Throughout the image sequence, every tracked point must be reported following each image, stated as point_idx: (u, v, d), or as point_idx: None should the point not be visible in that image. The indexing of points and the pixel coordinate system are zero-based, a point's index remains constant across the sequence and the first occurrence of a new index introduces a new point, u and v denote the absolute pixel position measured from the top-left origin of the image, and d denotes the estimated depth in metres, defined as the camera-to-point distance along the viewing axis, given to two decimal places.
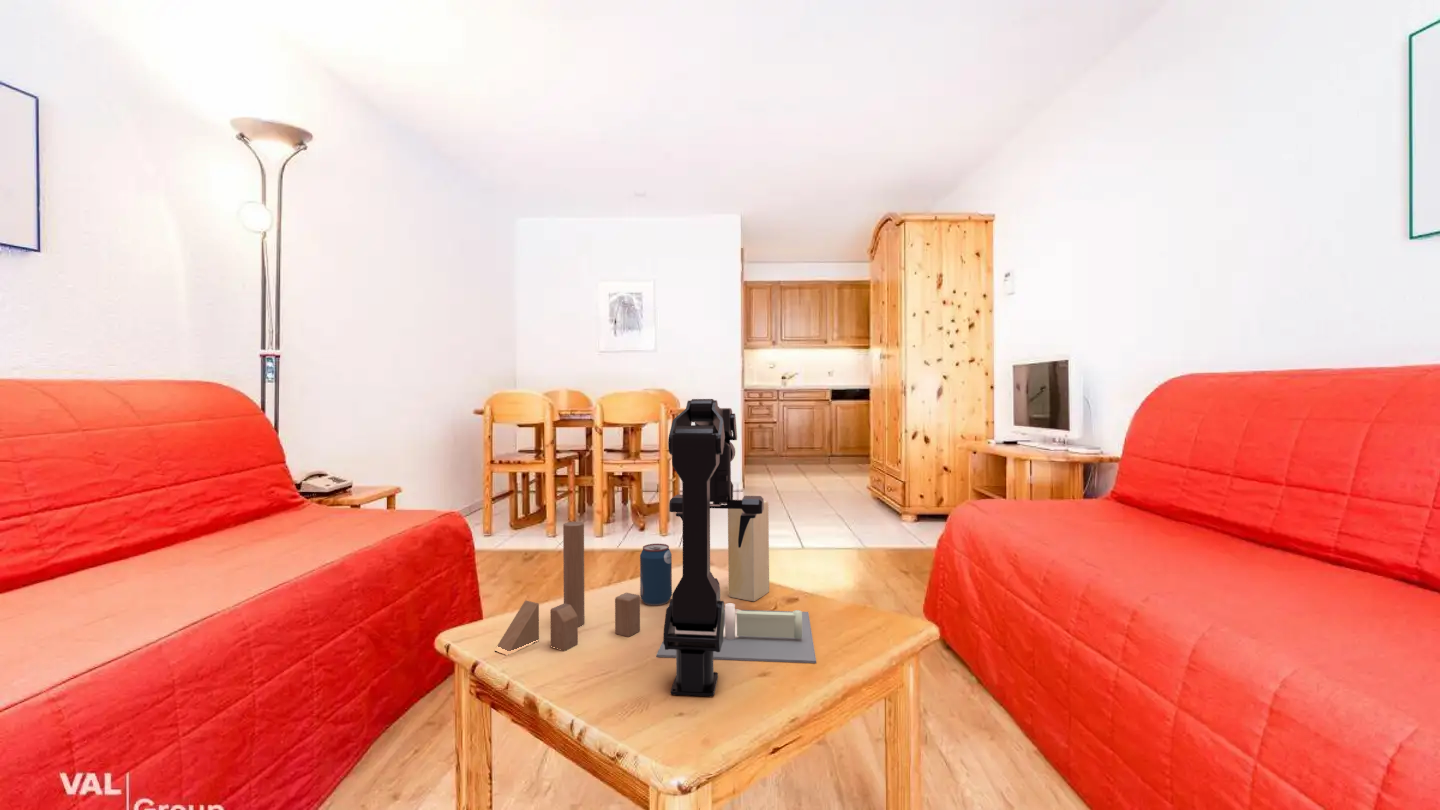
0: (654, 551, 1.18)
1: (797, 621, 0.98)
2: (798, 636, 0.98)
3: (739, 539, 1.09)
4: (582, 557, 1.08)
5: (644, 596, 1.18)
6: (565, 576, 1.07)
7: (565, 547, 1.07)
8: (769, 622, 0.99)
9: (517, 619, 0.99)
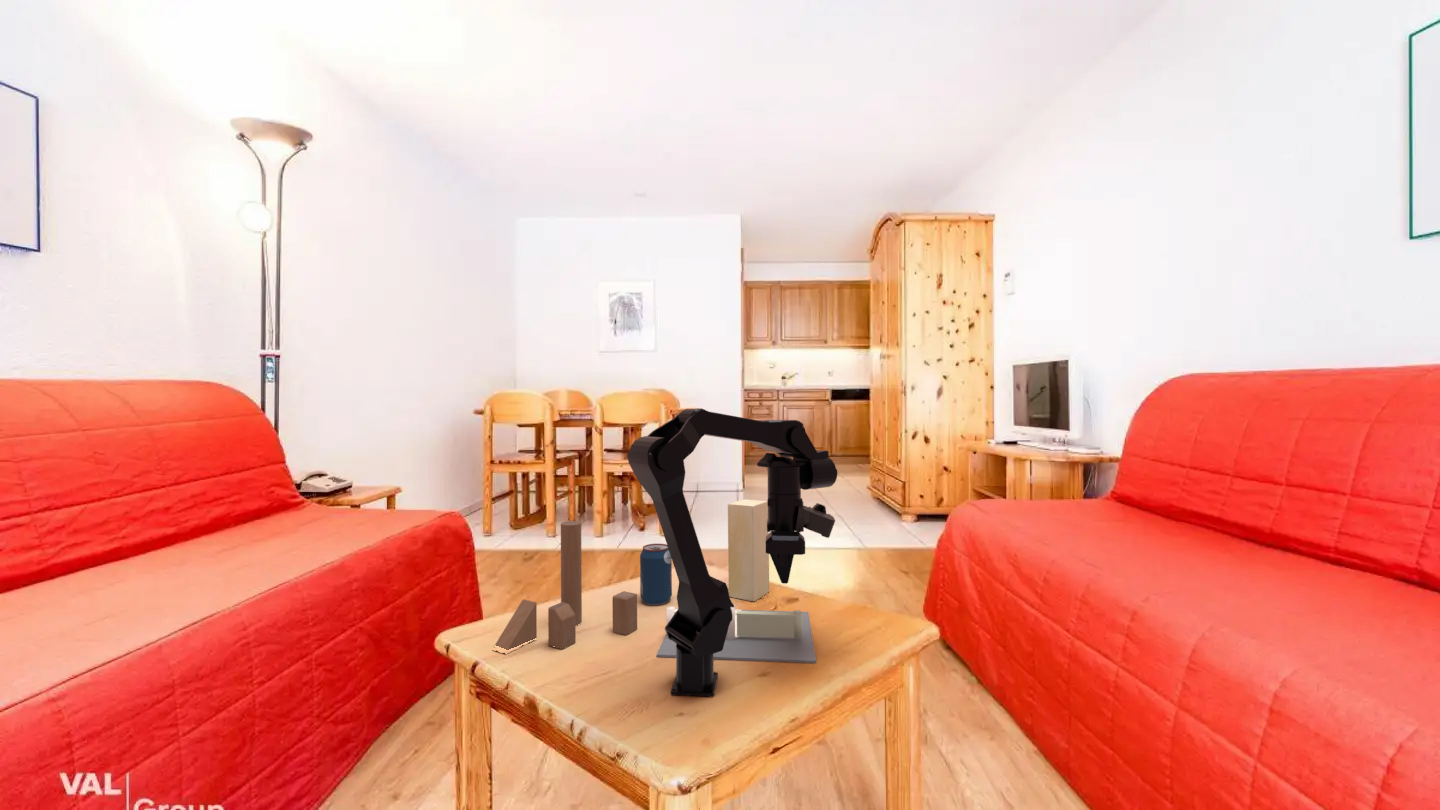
0: (654, 551, 1.18)
1: (797, 621, 0.98)
2: (798, 636, 0.98)
3: (777, 572, 0.94)
4: (579, 556, 1.08)
5: (644, 596, 1.18)
6: (562, 575, 1.07)
7: (562, 546, 1.07)
8: (769, 622, 0.99)
9: (515, 618, 1.00)
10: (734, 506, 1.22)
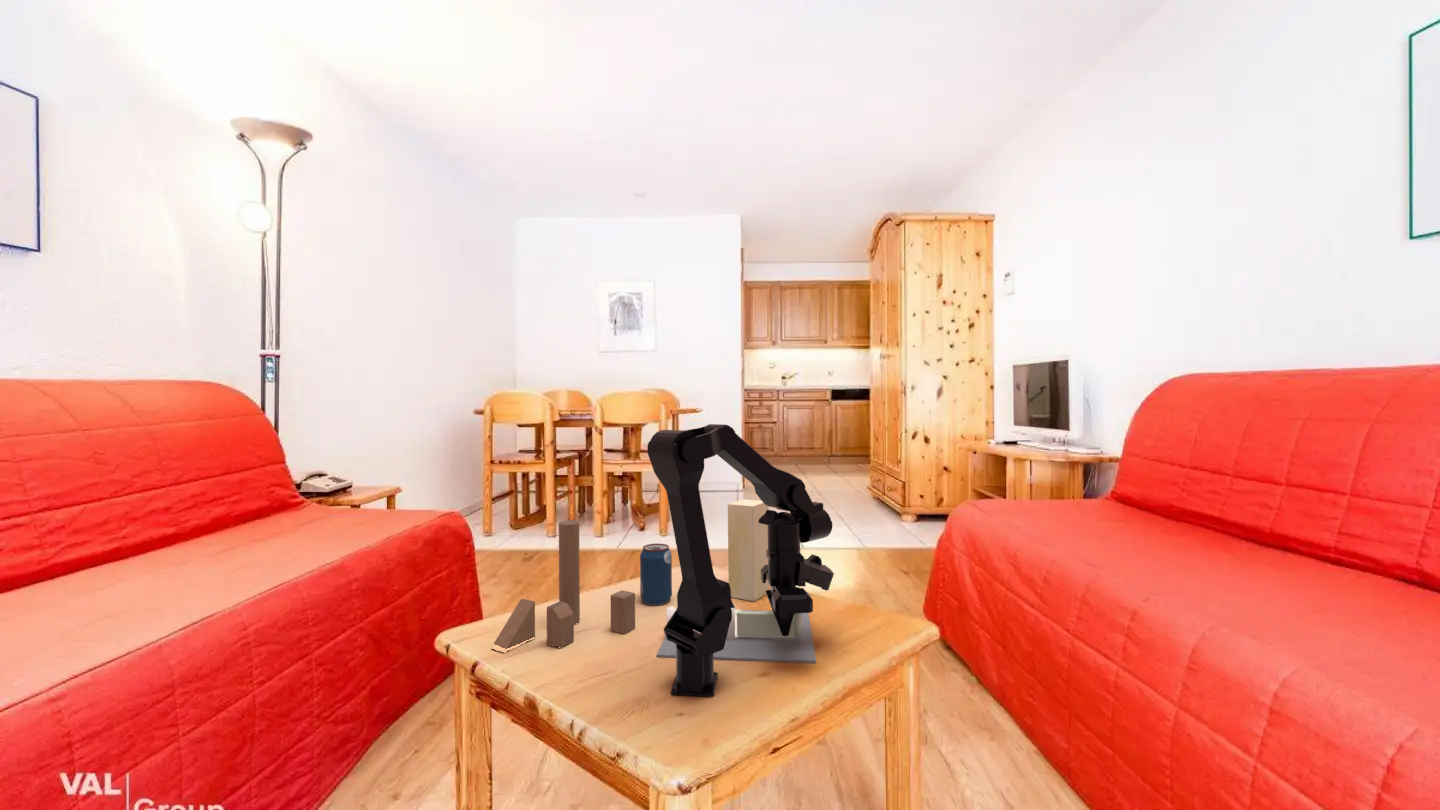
0: (654, 551, 1.18)
1: (797, 621, 0.98)
2: (798, 636, 0.98)
3: (778, 625, 0.97)
4: (577, 555, 1.09)
5: (644, 596, 1.18)
6: (561, 574, 1.08)
7: (561, 546, 1.08)
8: (769, 622, 0.99)
9: (513, 617, 1.00)
10: (734, 506, 1.22)
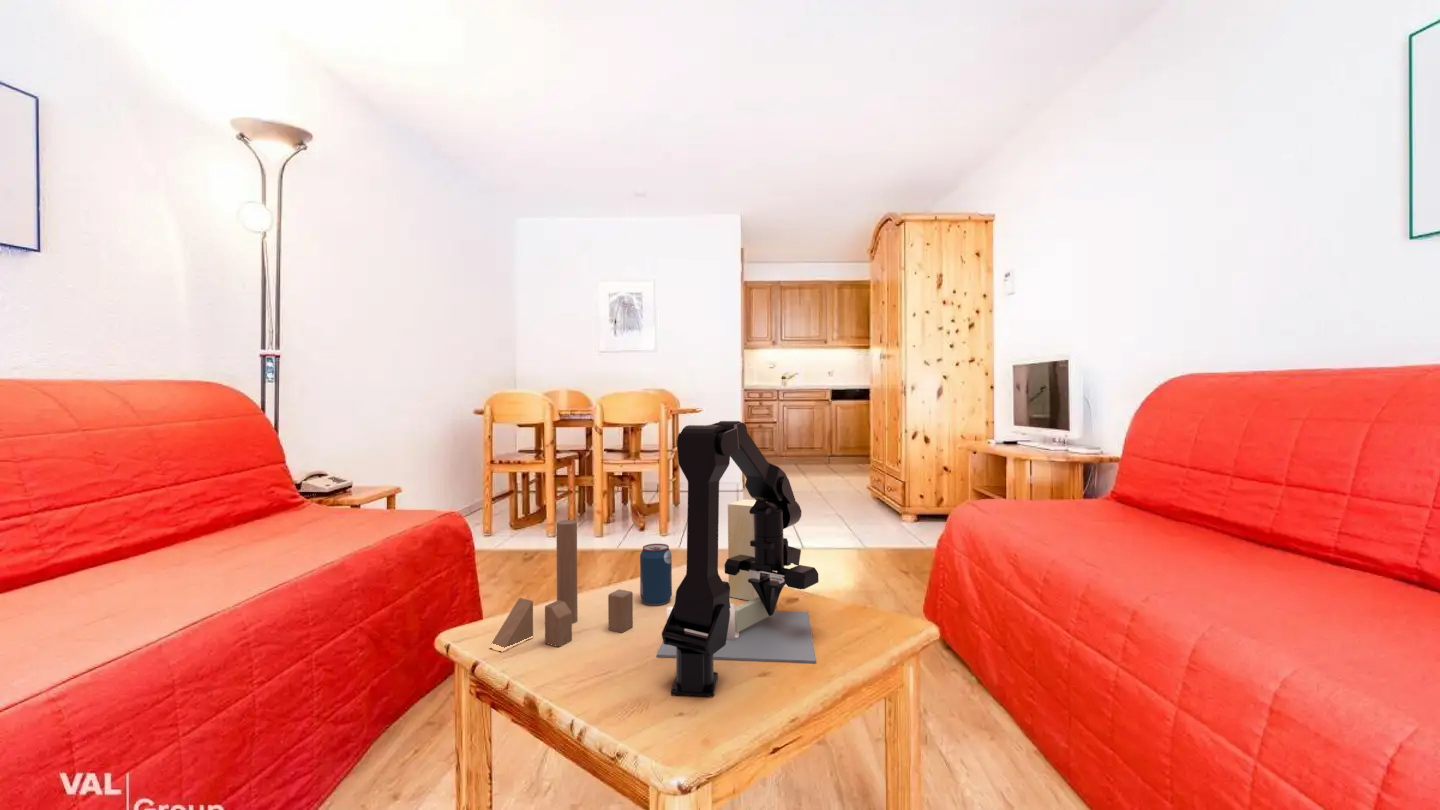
0: (654, 551, 1.18)
1: None
2: None
3: (767, 607, 1.05)
4: (575, 555, 1.09)
5: (644, 596, 1.18)
6: (558, 574, 1.08)
7: (558, 545, 1.08)
8: (755, 609, 1.05)
9: (511, 616, 1.00)
10: (734, 506, 1.22)
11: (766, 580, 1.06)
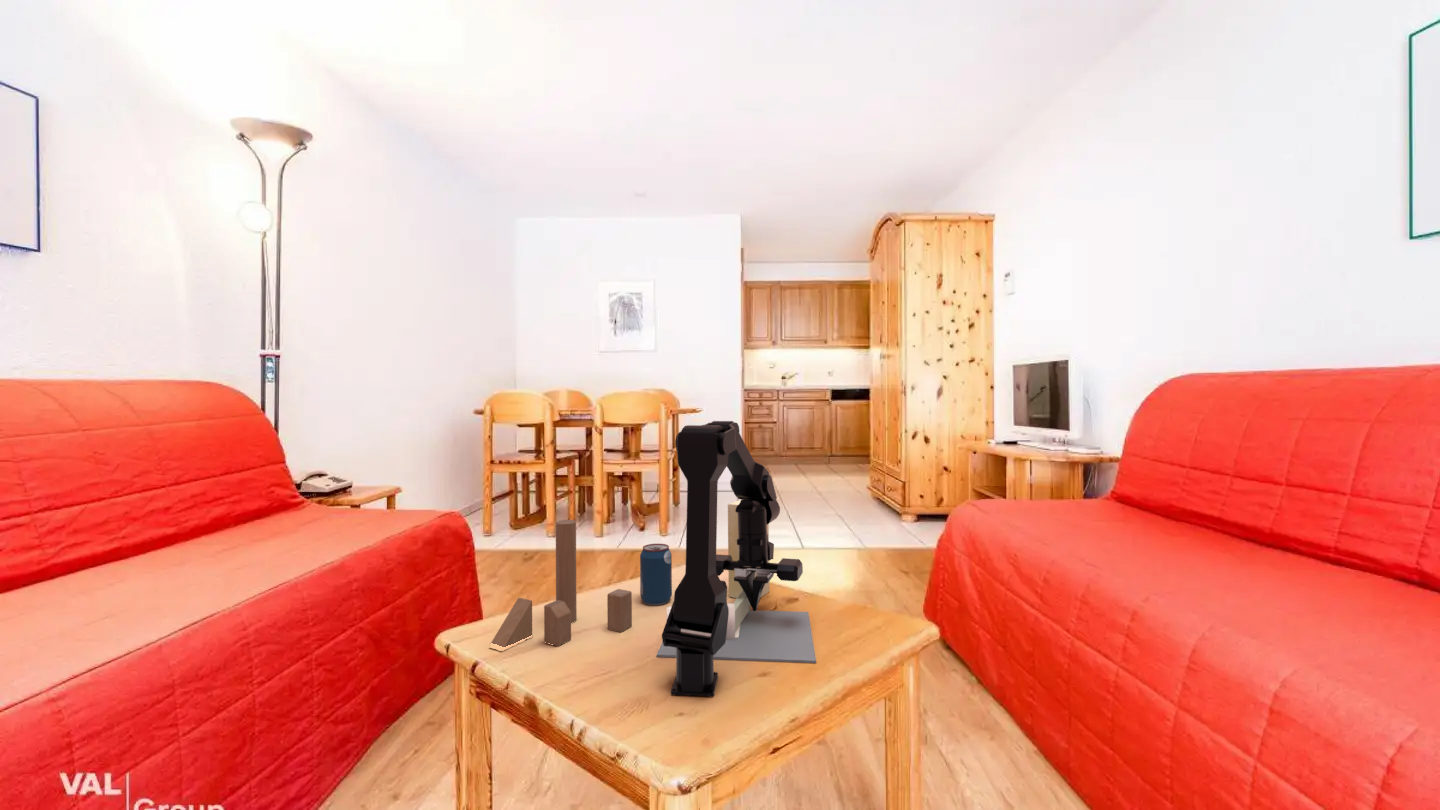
0: (654, 551, 1.18)
1: None
2: (750, 609, 1.12)
3: (753, 603, 1.08)
4: (574, 555, 1.09)
5: (644, 596, 1.18)
6: (557, 573, 1.08)
7: (557, 545, 1.08)
8: (742, 606, 1.07)
9: (511, 616, 1.01)
10: (734, 506, 1.22)
11: (750, 576, 1.09)
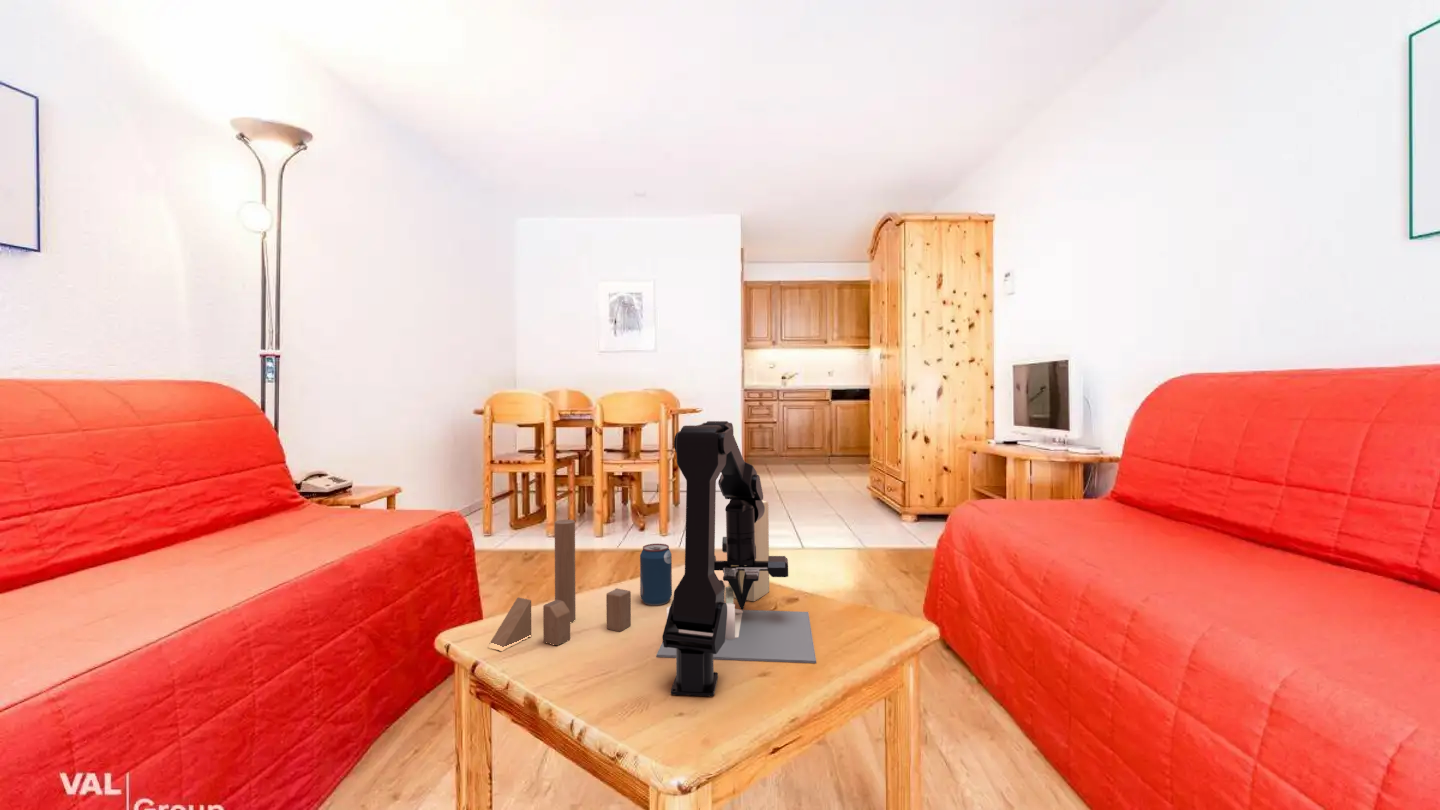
0: (654, 551, 1.18)
1: None
2: None
3: (742, 601, 1.09)
4: (573, 554, 1.10)
5: (644, 596, 1.18)
6: (556, 573, 1.08)
7: (556, 545, 1.08)
8: None
9: (510, 616, 1.01)
10: None
11: (738, 575, 1.10)
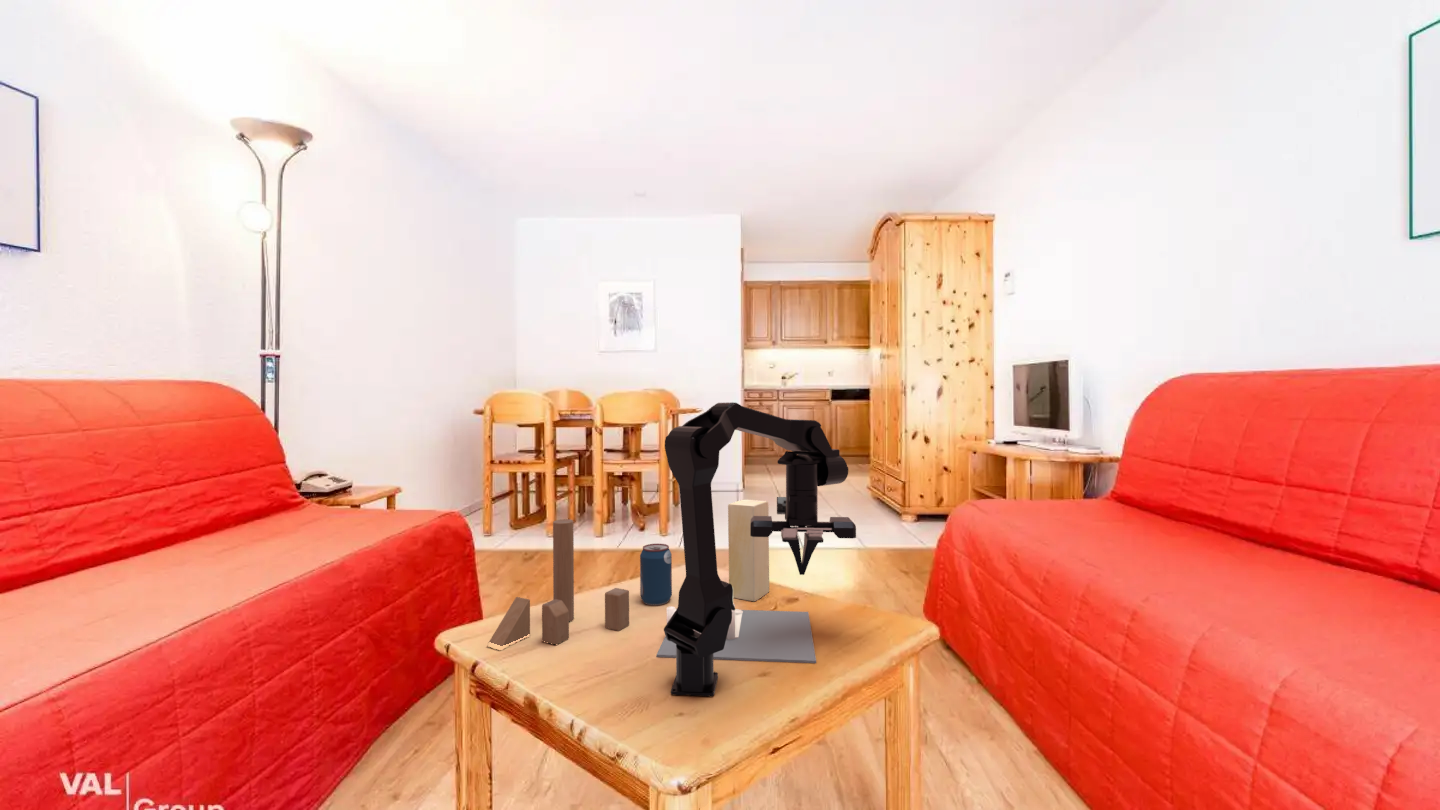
0: (654, 551, 1.18)
1: None
2: None
3: (804, 565, 0.99)
4: (572, 554, 1.10)
5: (644, 596, 1.18)
6: (555, 573, 1.09)
7: (555, 544, 1.09)
8: None
9: (509, 615, 1.01)
10: (734, 506, 1.22)
11: (797, 537, 0.99)
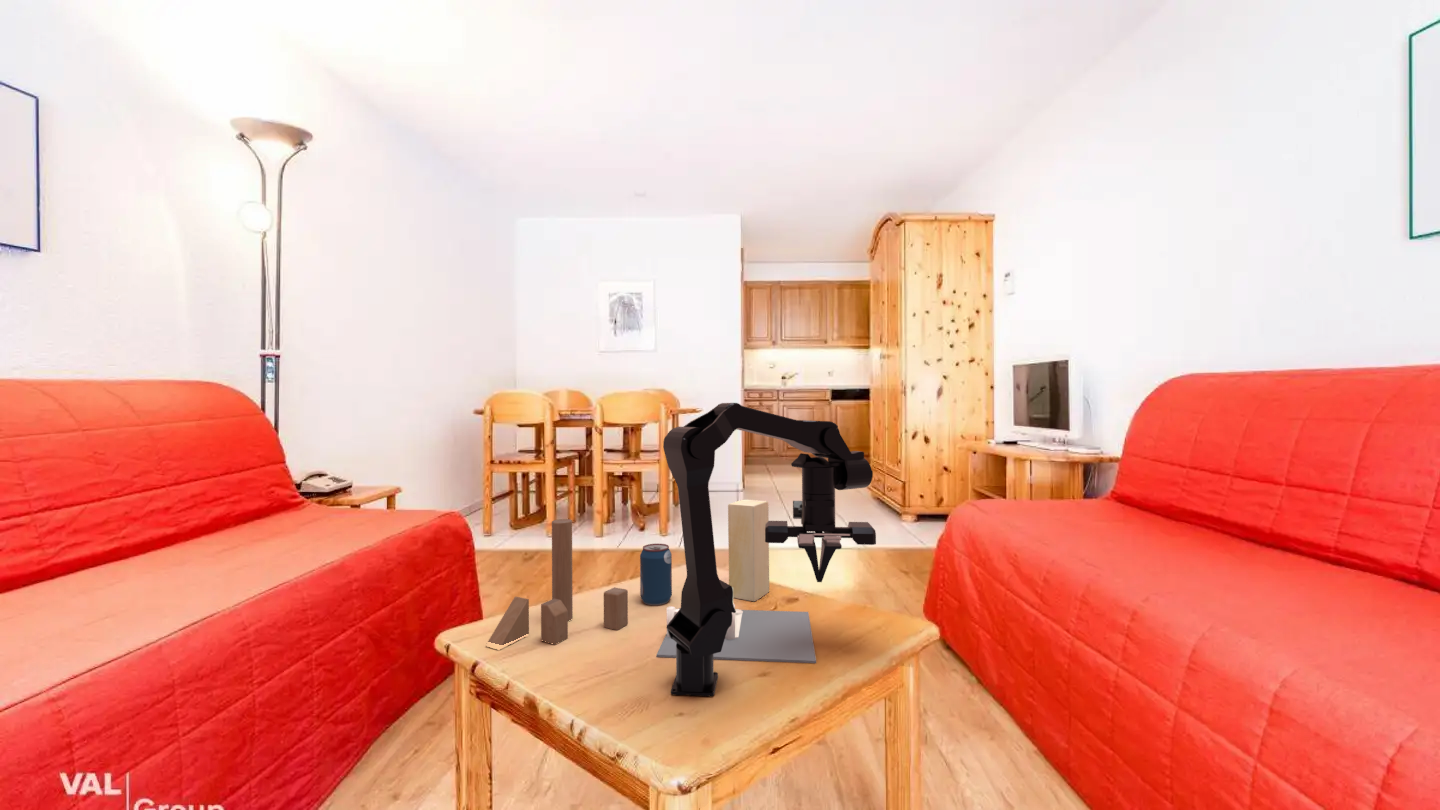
0: (654, 551, 1.18)
1: None
2: None
3: (821, 573, 0.94)
4: (570, 553, 1.10)
5: (644, 596, 1.18)
6: (554, 572, 1.09)
7: (554, 544, 1.09)
8: None
9: (507, 615, 1.01)
10: (734, 506, 1.22)
11: (814, 543, 0.95)
